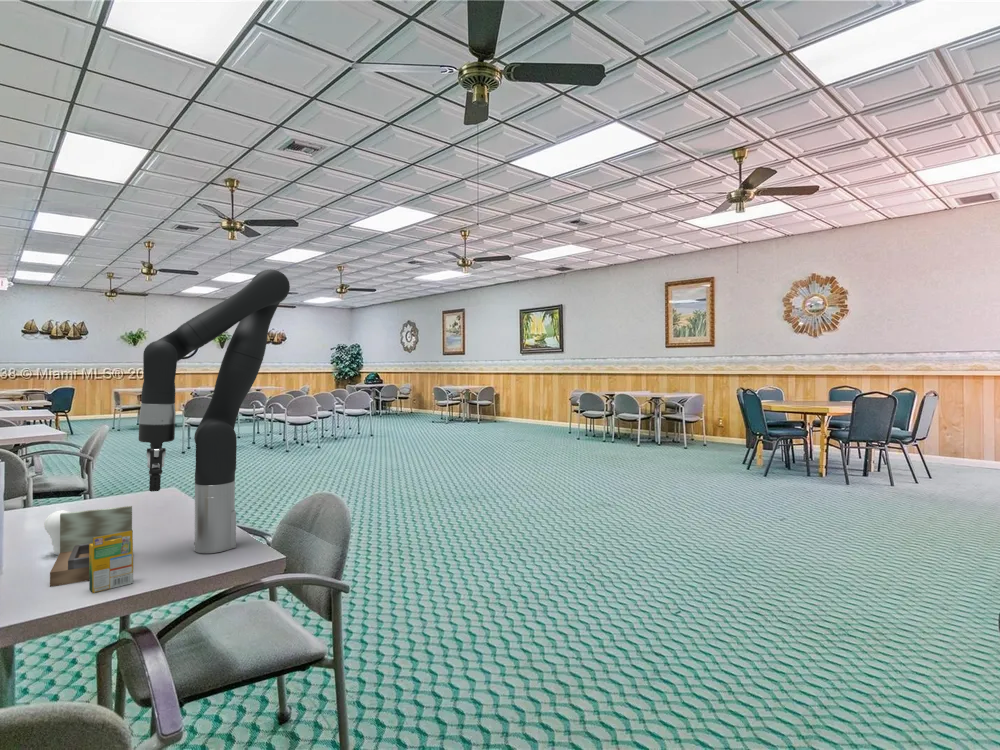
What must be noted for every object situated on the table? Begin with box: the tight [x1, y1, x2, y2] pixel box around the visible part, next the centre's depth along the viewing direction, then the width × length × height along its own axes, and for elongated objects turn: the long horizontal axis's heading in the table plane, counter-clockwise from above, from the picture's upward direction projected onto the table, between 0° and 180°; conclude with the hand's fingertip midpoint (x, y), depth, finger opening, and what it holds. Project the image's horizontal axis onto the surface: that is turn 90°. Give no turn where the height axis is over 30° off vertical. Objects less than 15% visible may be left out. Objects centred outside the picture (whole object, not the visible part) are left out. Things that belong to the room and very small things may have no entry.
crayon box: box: [88, 529, 134, 594], centre depth 116 cm, size 7×3×12 cm, turn 139°
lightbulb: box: [43, 509, 70, 556], centre depth 135 cm, size 6×6×11 cm
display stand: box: [49, 505, 133, 588], centre depth 126 cm, size 14×16×12 cm
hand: (154, 487), depth 134 cm, fingers open, 8 cm apart
